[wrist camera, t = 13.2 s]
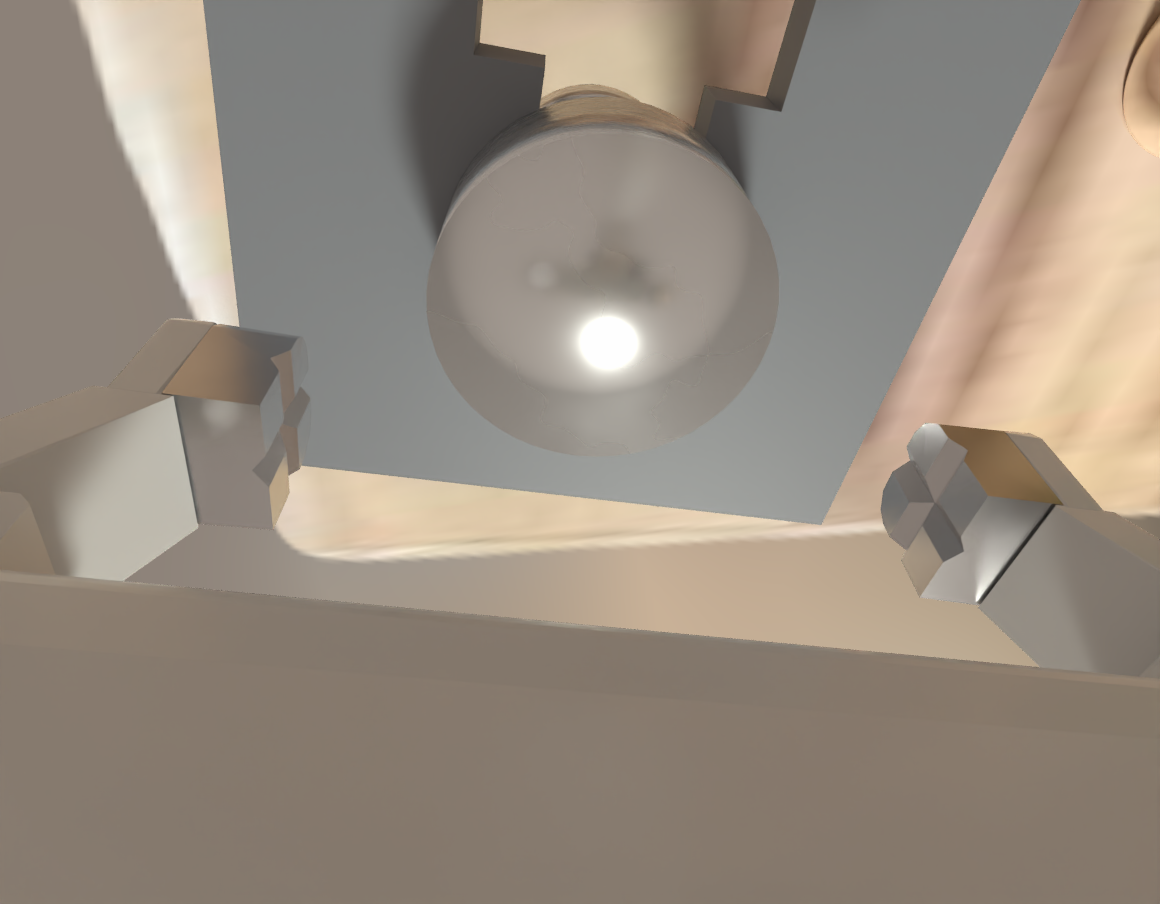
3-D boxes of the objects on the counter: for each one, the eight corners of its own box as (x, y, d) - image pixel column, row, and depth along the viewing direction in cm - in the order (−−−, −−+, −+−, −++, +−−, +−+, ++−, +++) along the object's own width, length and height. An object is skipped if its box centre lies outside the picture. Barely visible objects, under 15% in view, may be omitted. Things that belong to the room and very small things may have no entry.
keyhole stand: (358, -518, 16) (81, -1090, 7) (949, -356, 18) (1391, -630, 9) (360, 257, 27) (254, 460, 17) (732, 312, 29) (821, 524, 19)
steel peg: (479, 22, 17) (436, 99, 11) (736, 71, 17) (833, 170, 11) (459, 272, 20) (418, 436, 14) (673, 304, 21) (721, 473, 15)
